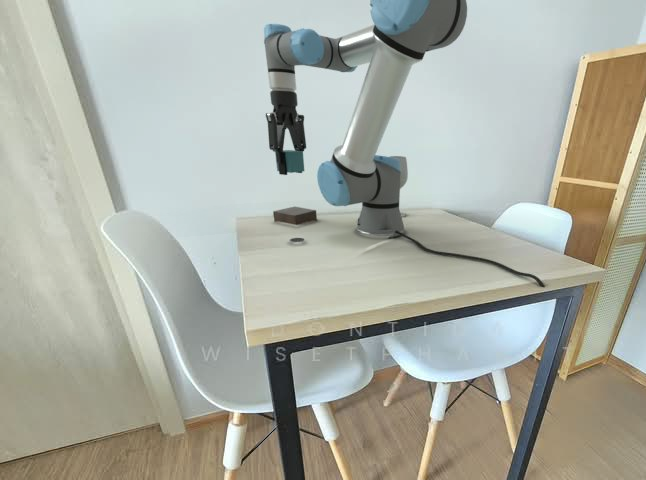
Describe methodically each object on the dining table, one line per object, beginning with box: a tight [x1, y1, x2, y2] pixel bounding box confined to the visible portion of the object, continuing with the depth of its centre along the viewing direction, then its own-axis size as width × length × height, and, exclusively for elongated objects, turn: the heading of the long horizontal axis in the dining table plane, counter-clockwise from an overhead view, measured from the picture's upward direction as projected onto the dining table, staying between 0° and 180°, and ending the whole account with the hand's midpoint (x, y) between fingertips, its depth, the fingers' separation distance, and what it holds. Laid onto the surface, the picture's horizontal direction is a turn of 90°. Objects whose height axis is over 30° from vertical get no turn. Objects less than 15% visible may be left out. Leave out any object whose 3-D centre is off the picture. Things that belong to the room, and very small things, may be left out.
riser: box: [272, 206, 318, 226], centre depth 122 cm, size 10×10×4 cm
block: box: [274, 149, 305, 174], centre depth 113 cm, size 6×6×6 cm
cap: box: [289, 237, 305, 243], centre depth 102 cm, size 4×4×1 cm
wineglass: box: [389, 155, 409, 218], centre depth 133 cm, size 8×8×21 cm
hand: (291, 173), depth 115 cm, fingers closed on block, 6 cm apart
